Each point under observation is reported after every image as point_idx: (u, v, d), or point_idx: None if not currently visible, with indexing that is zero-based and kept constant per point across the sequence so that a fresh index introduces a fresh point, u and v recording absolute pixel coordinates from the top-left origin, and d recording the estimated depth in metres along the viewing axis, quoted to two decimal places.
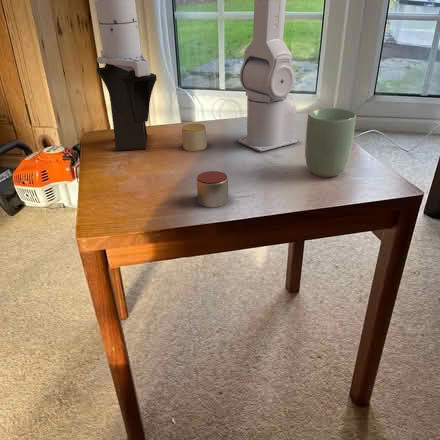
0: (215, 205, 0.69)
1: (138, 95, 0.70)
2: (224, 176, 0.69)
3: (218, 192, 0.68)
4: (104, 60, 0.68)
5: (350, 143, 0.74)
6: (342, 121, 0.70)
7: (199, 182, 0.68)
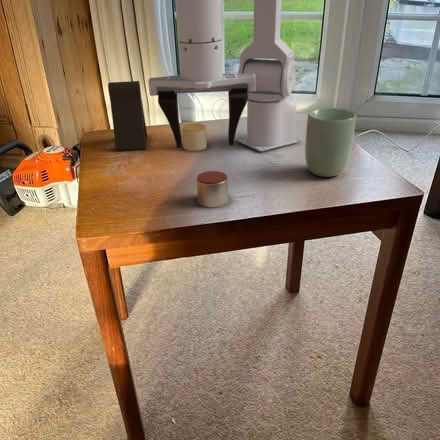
0: (215, 205, 0.69)
1: None
2: (224, 176, 0.69)
3: (218, 192, 0.68)
4: (210, 84, 0.59)
5: (350, 143, 0.74)
6: (342, 121, 0.70)
7: (199, 182, 0.68)
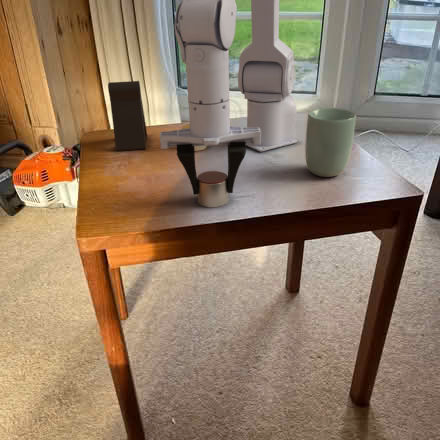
0: (215, 205, 0.69)
1: None
2: (224, 176, 0.69)
3: (219, 192, 0.68)
4: (218, 140, 0.62)
5: (350, 143, 0.74)
6: (342, 121, 0.70)
7: (199, 182, 0.68)
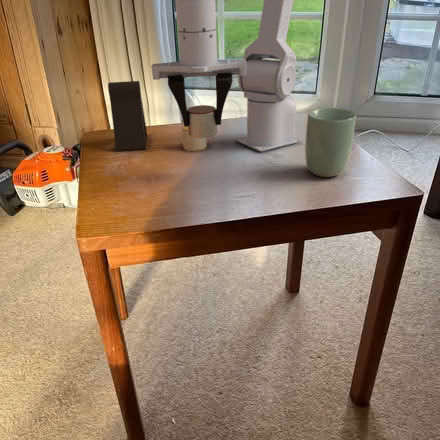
0: (205, 136, 0.74)
1: None
2: (213, 108, 0.73)
3: (207, 123, 0.73)
4: (206, 68, 0.67)
5: (350, 143, 0.74)
6: (342, 121, 0.70)
7: (189, 113, 0.73)
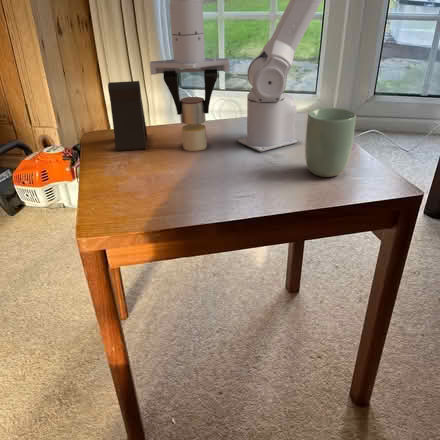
0: (194, 122, 0.87)
1: None
2: (202, 99, 0.87)
3: (197, 111, 0.86)
4: (195, 65, 0.80)
5: (350, 143, 0.74)
6: (342, 121, 0.70)
7: (181, 103, 0.86)
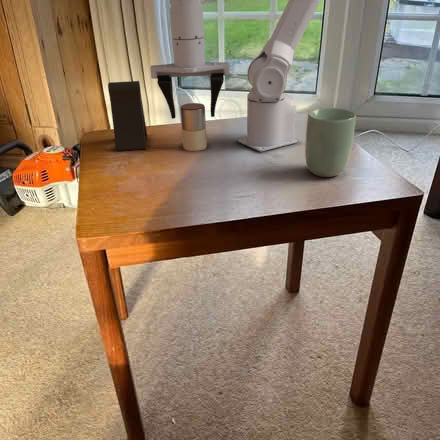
0: (195, 129, 0.88)
1: None
2: (202, 105, 0.87)
3: (197, 118, 0.87)
4: (195, 69, 0.81)
5: (350, 143, 0.74)
6: (342, 121, 0.70)
7: (182, 109, 0.87)
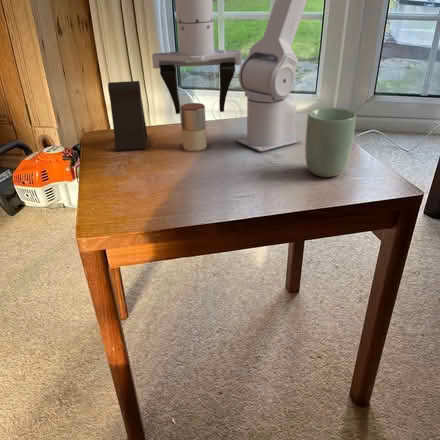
0: (195, 129, 0.88)
1: None
2: (202, 105, 0.87)
3: (197, 118, 0.87)
4: (203, 57, 0.71)
5: (350, 143, 0.74)
6: (342, 121, 0.70)
7: (182, 109, 0.87)
